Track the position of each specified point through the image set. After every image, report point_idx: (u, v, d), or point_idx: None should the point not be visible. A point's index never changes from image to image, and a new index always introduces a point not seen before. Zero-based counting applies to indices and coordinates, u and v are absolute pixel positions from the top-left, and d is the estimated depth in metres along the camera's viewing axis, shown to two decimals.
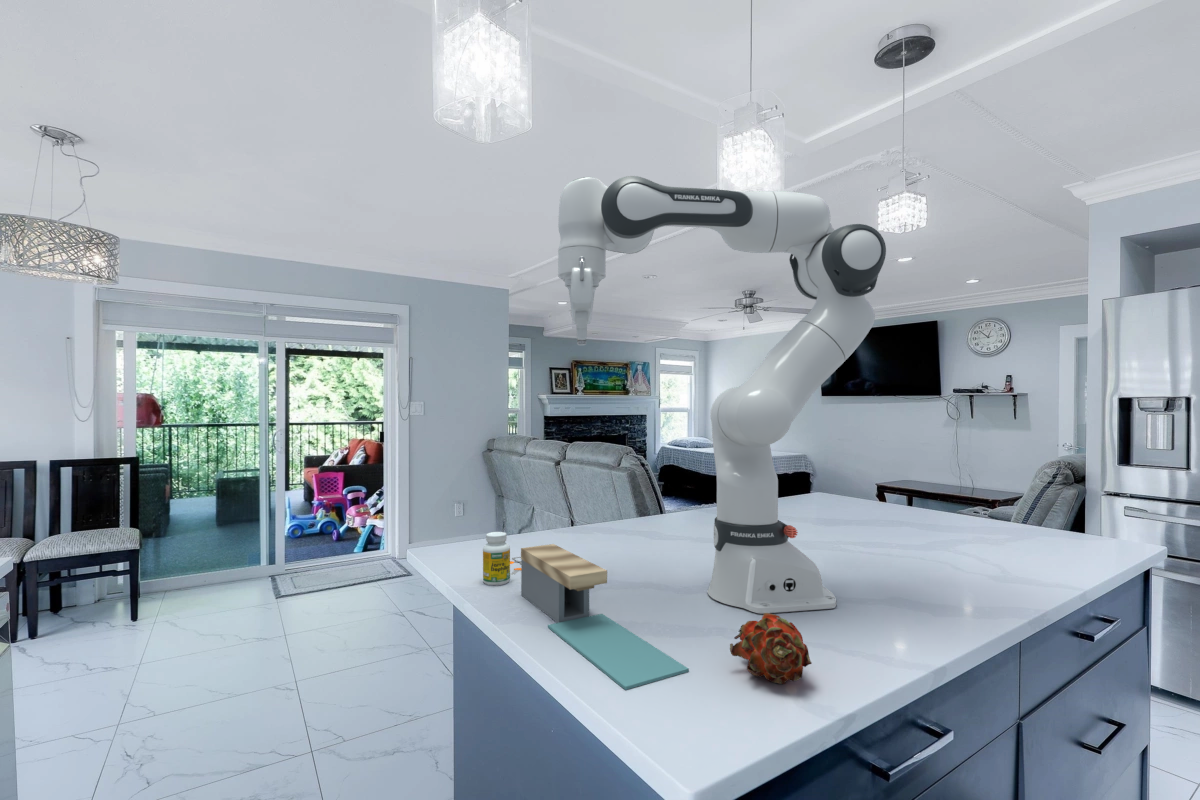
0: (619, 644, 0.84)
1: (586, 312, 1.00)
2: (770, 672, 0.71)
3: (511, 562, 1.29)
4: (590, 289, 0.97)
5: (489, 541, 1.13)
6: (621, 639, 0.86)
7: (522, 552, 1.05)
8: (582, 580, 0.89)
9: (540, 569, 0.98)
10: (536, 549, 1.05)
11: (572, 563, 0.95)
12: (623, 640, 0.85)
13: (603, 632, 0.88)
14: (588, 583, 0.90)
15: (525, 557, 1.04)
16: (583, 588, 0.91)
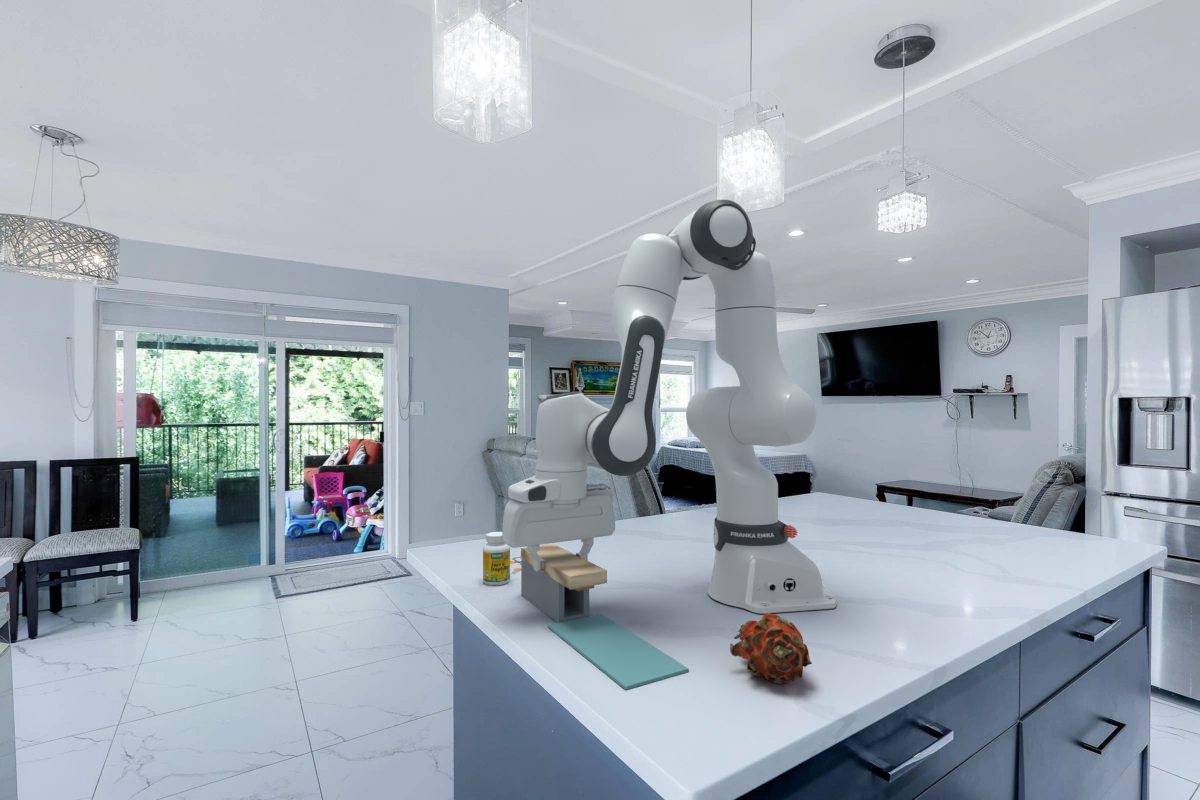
0: (619, 644, 0.84)
1: None
2: (770, 672, 0.71)
3: (511, 562, 1.29)
4: None
5: (489, 541, 1.13)
6: (621, 639, 0.86)
7: (522, 552, 1.05)
8: (582, 580, 0.89)
9: None
10: None
11: (572, 563, 0.95)
12: (623, 640, 0.85)
13: (603, 632, 0.88)
14: (588, 583, 0.90)
15: (525, 557, 1.04)
16: (583, 588, 0.91)
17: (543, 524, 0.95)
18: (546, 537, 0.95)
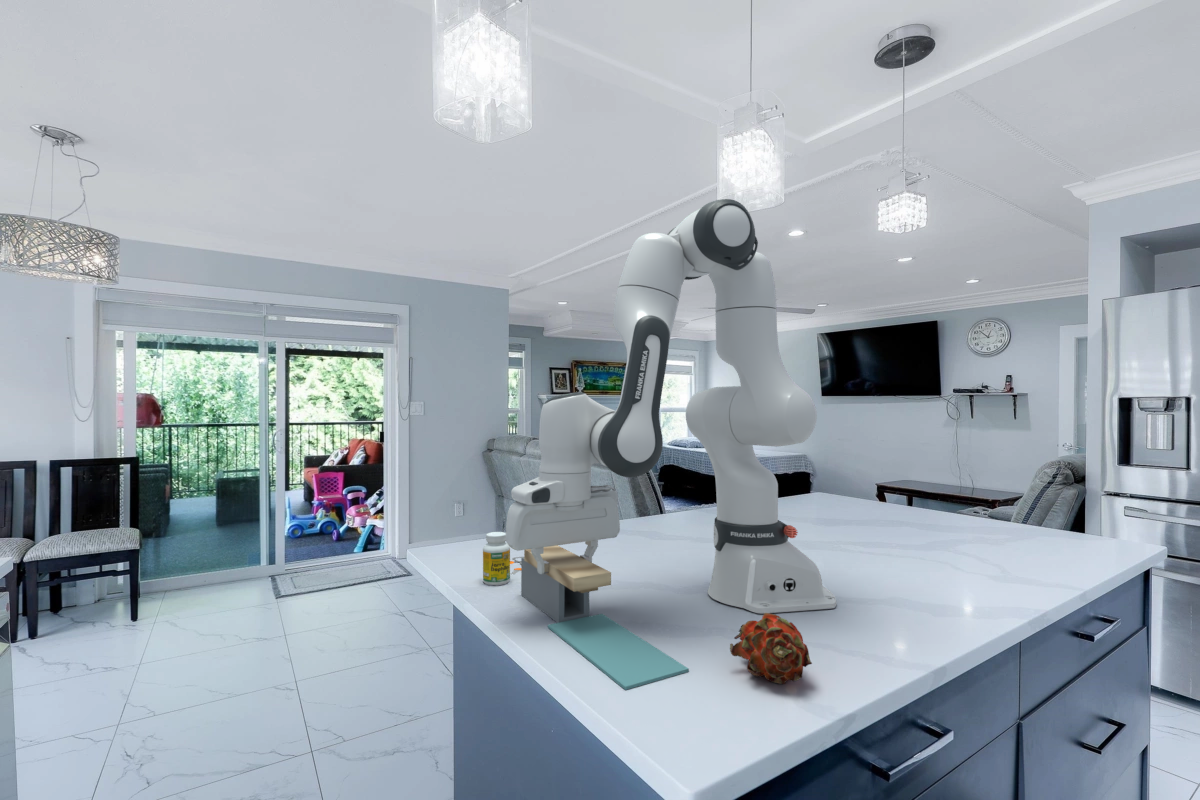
0: (619, 644, 0.84)
1: None
2: (770, 672, 0.71)
3: (511, 562, 1.29)
4: None
5: (489, 541, 1.13)
6: (621, 639, 0.86)
7: (525, 553, 1.04)
8: (585, 581, 0.88)
9: None
10: None
11: (575, 565, 0.94)
12: (623, 640, 0.85)
13: (603, 632, 0.88)
14: (592, 585, 0.89)
15: (528, 558, 1.03)
16: (587, 590, 0.90)
17: (546, 527, 0.94)
18: (550, 539, 0.94)
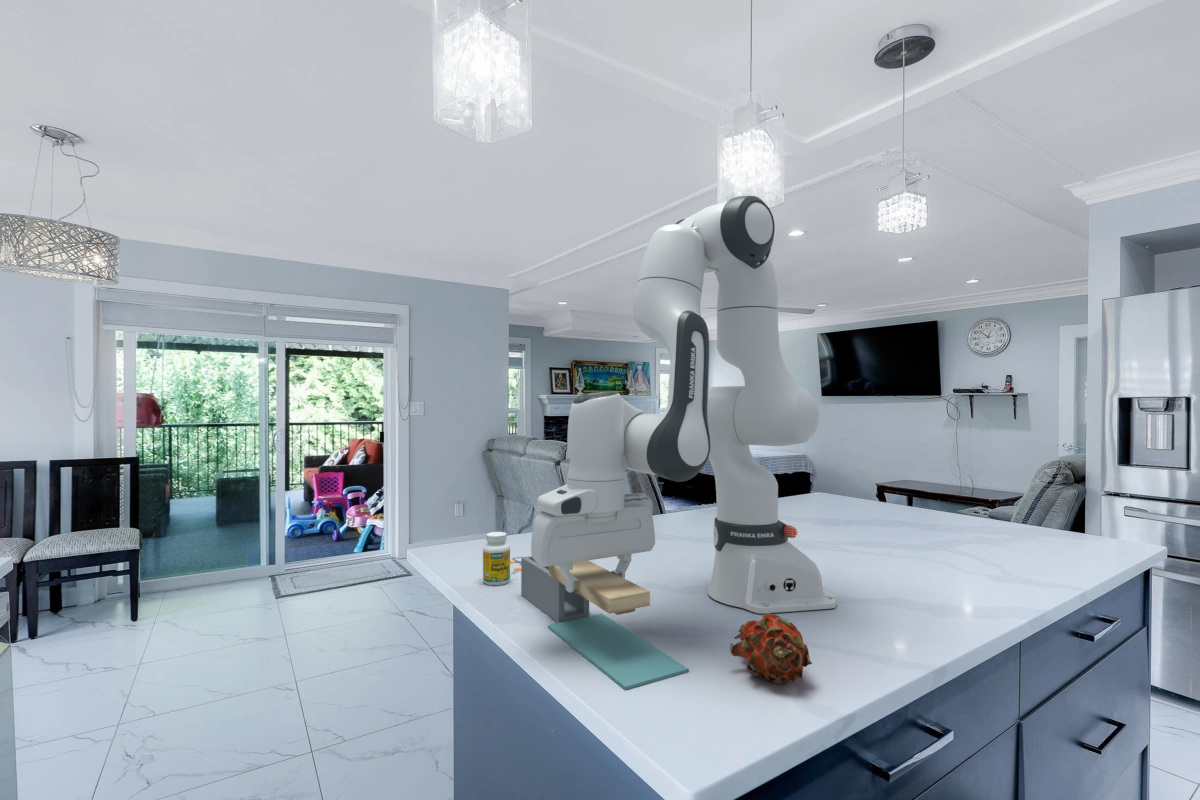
0: (619, 644, 0.84)
1: None
2: (770, 672, 0.71)
3: (511, 562, 1.29)
4: None
5: (489, 541, 1.13)
6: (621, 639, 0.86)
7: (550, 568, 0.95)
8: (622, 602, 0.79)
9: None
10: None
11: (608, 582, 0.85)
12: (623, 640, 0.85)
13: (603, 632, 0.88)
14: (629, 606, 0.79)
15: (554, 573, 0.93)
16: (623, 611, 0.80)
17: (576, 540, 0.84)
18: (580, 554, 0.85)
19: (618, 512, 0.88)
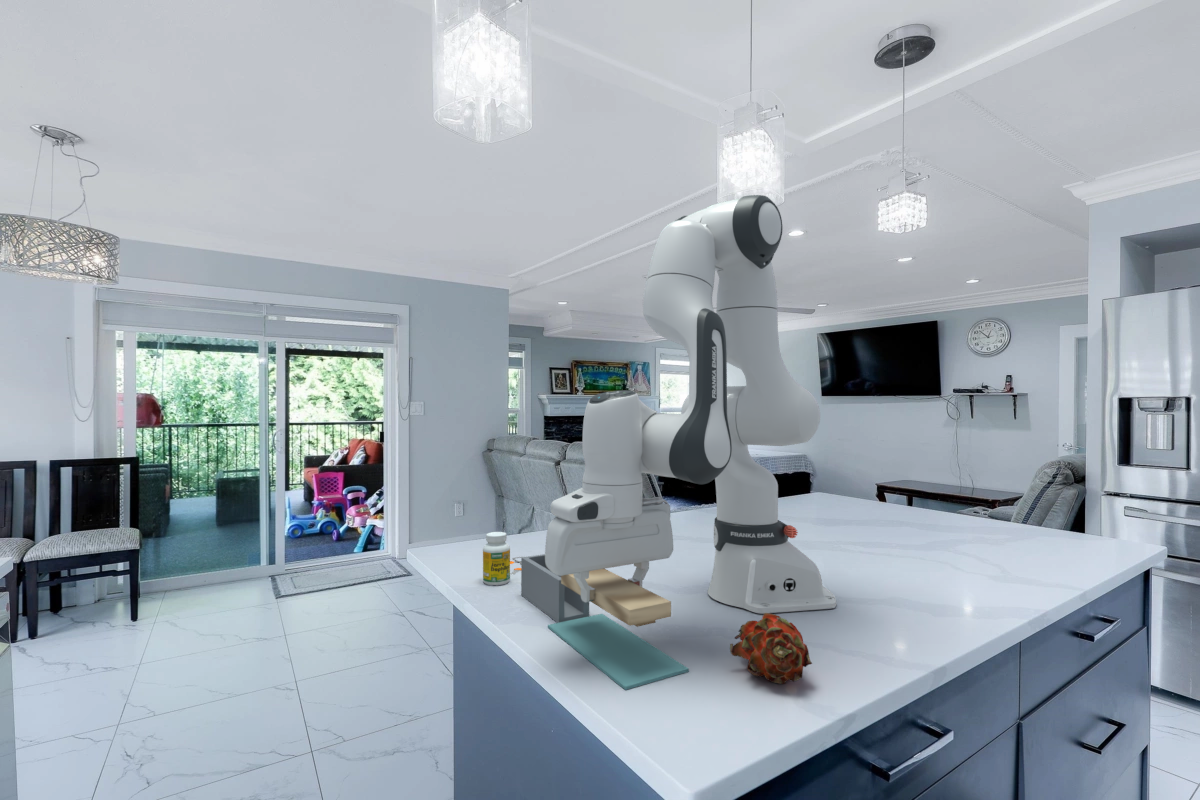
0: (619, 644, 0.84)
1: None
2: (770, 672, 0.71)
3: (511, 562, 1.29)
4: None
5: (489, 541, 1.13)
6: (621, 639, 0.86)
7: (563, 575, 0.90)
8: (643, 613, 0.75)
9: None
10: None
11: (626, 592, 0.81)
12: (623, 640, 0.85)
13: (603, 632, 0.88)
14: (650, 617, 0.75)
15: (567, 582, 0.89)
16: (643, 623, 0.76)
17: (593, 547, 0.80)
18: (597, 562, 0.81)
19: (636, 517, 0.84)
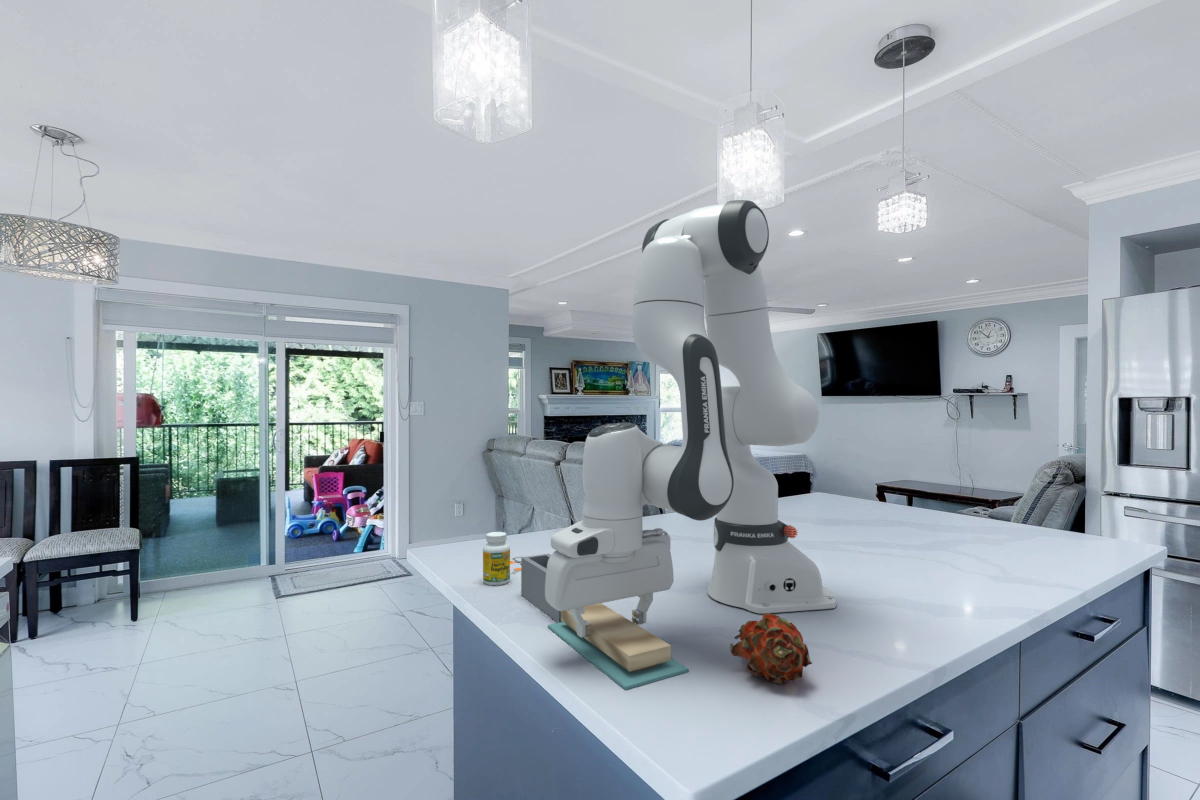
0: None
1: None
2: (770, 672, 0.71)
3: (511, 562, 1.29)
4: None
5: (489, 541, 1.13)
6: None
7: (563, 613, 0.90)
8: (643, 659, 0.75)
9: (587, 638, 0.83)
10: None
11: (626, 634, 0.81)
12: None
13: None
14: (650, 662, 0.75)
15: (567, 619, 0.89)
16: (643, 667, 0.76)
17: (593, 581, 0.80)
18: (597, 596, 0.80)
19: (636, 550, 0.84)
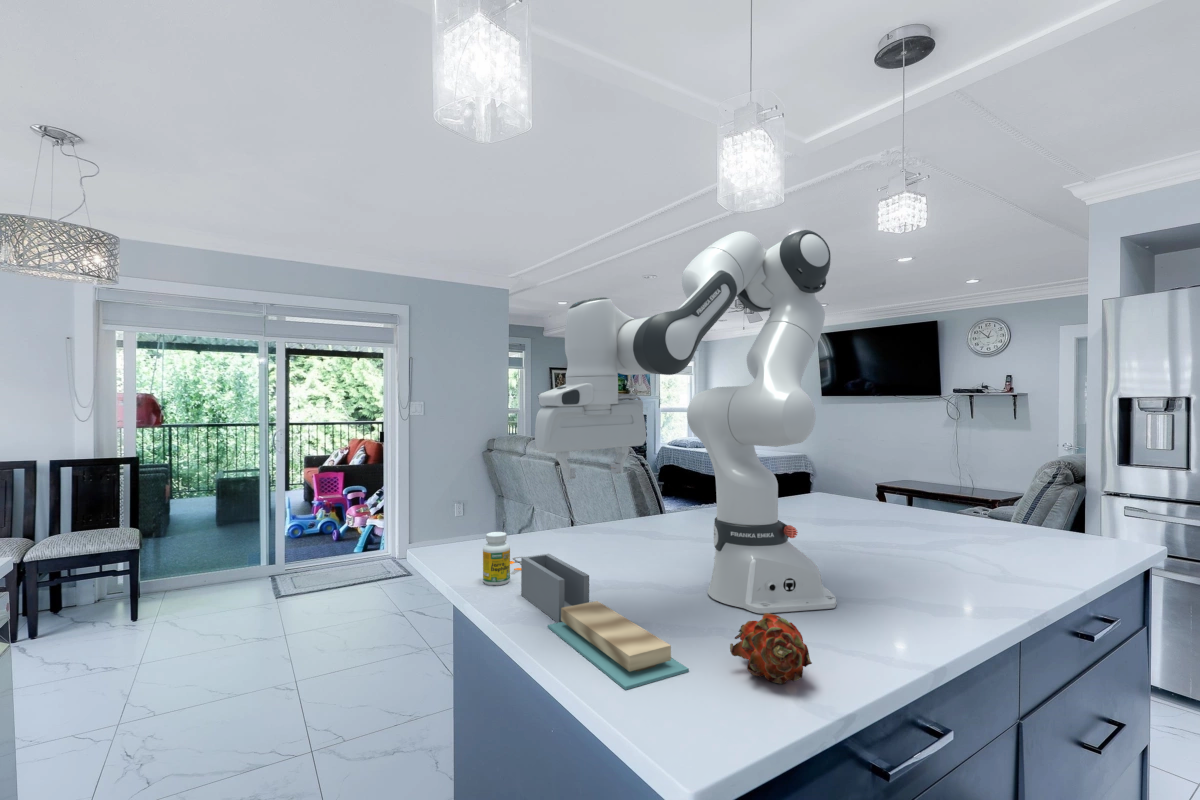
0: None
1: None
2: (770, 672, 0.71)
3: (511, 562, 1.29)
4: None
5: (489, 541, 1.13)
6: None
7: (563, 613, 0.90)
8: (643, 659, 0.75)
9: (587, 638, 0.83)
10: (579, 610, 0.90)
11: (626, 634, 0.81)
12: None
13: None
14: (650, 662, 0.75)
15: (567, 619, 0.89)
16: (643, 667, 0.76)
17: (576, 430, 0.93)
18: (580, 443, 0.94)
19: (612, 408, 0.97)
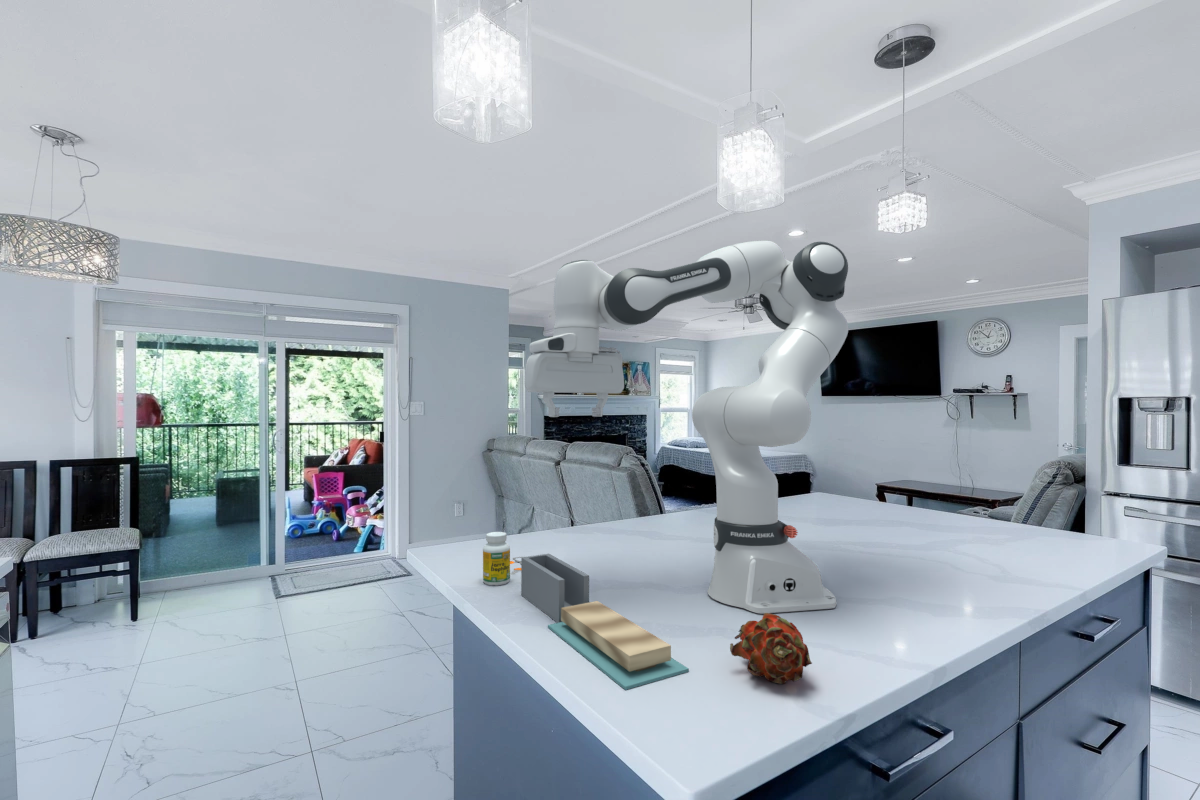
0: None
1: None
2: (770, 672, 0.71)
3: (511, 562, 1.29)
4: None
5: (489, 541, 1.13)
6: None
7: (563, 613, 0.90)
8: (643, 659, 0.75)
9: (587, 638, 0.83)
10: (579, 610, 0.90)
11: (626, 634, 0.81)
12: None
13: None
14: (650, 662, 0.75)
15: (567, 619, 0.89)
16: (643, 667, 0.76)
17: (560, 374, 1.07)
18: (563, 386, 1.07)
19: (594, 357, 1.11)
